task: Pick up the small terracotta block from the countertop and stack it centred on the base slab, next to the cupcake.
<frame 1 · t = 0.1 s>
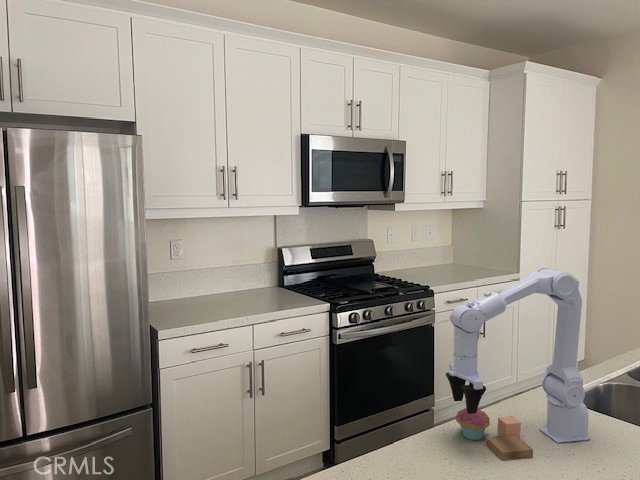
hand: (464, 406, 129), 10 cm above the counter, fingers open, 7 cm apart
block: (508, 438, 133), on the counter
base: (508, 450, 127), on the counter
cupcake: (472, 436, 135), on the counter
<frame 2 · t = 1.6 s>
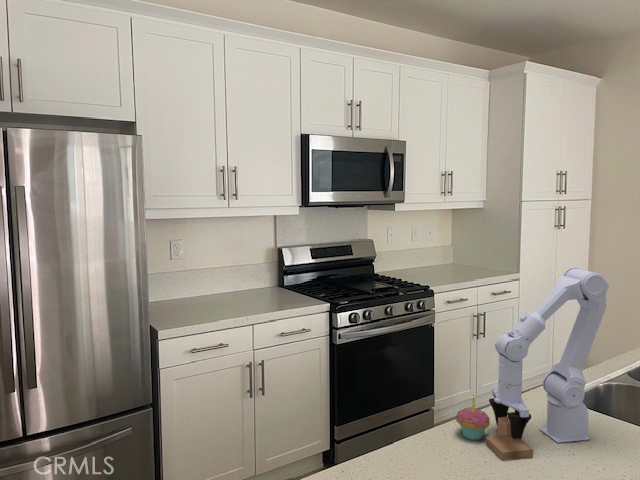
hand: (508, 432, 133), 2 cm above the counter, fingers open, 7 cm apart
nothing on the counter moved.
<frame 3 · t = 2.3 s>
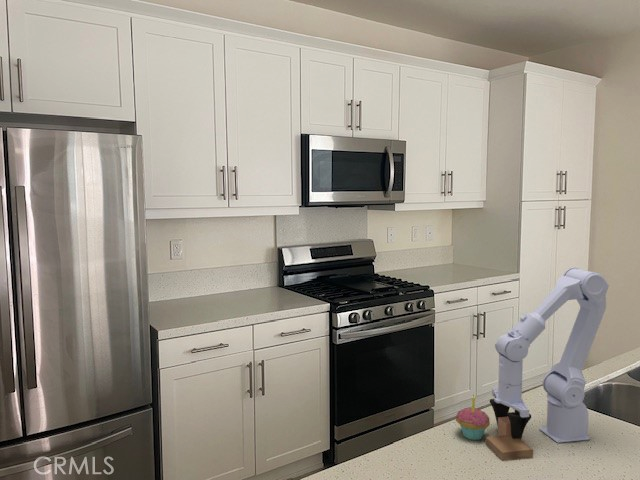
hand: (508, 432, 133), 2 cm above the counter, fingers open, 6 cm apart
nothing on the counter moved.
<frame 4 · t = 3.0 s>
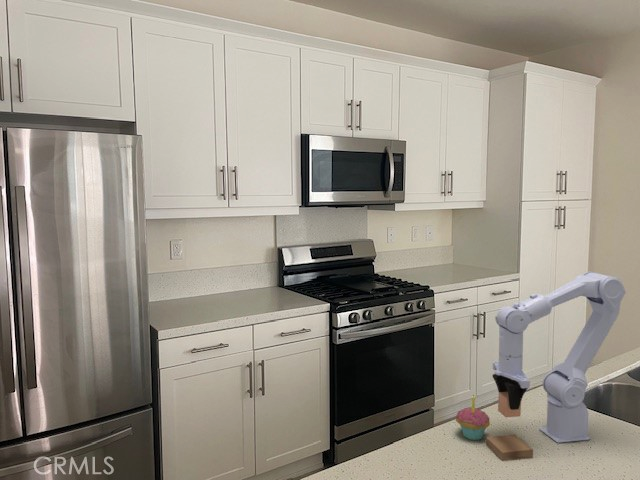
hand: (509, 405, 132), 9 cm above the counter, fingers closed on block, 4 cm apart
block: (509, 413, 133), point 7 cm above the counter, touching gripper
everything else where it was.
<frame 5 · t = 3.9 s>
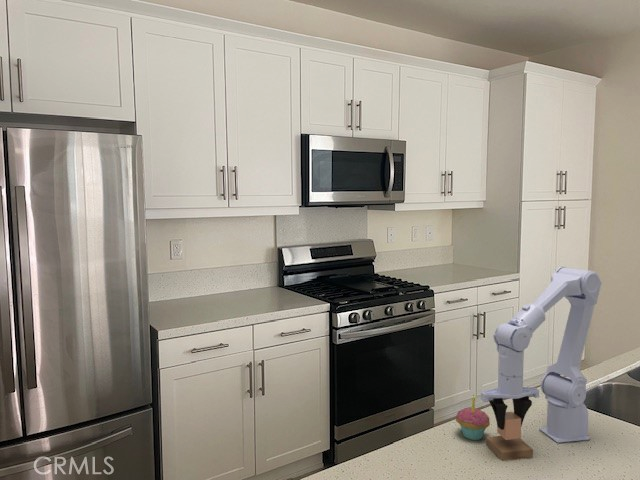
hand: (509, 427, 126), 6 cm above the counter, fingers closed on block, 4 cm apart
block: (509, 435, 126), point 4 cm above the counter, touching gripper
everything else where it was.
when the fingers open (5 cm above the counter, at t = 4.5 s): block stays where it is, resting on base.
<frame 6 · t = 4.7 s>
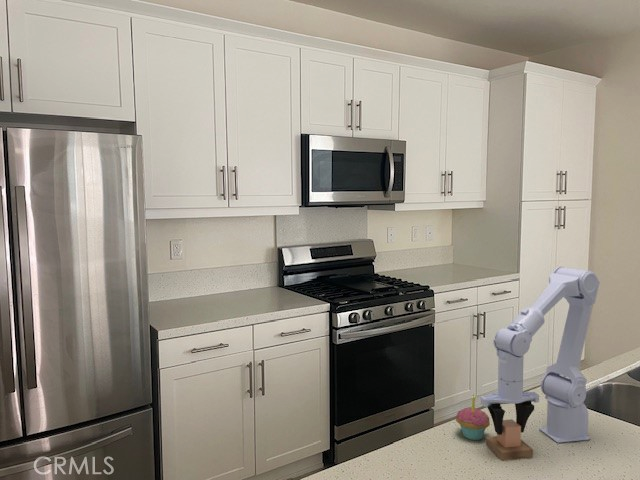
hand: (509, 431, 126), 5 cm above the counter, fingers open, 5 cm apart
block: (508, 442, 126), point 2 cm above the counter, touching base
everything else where it was.
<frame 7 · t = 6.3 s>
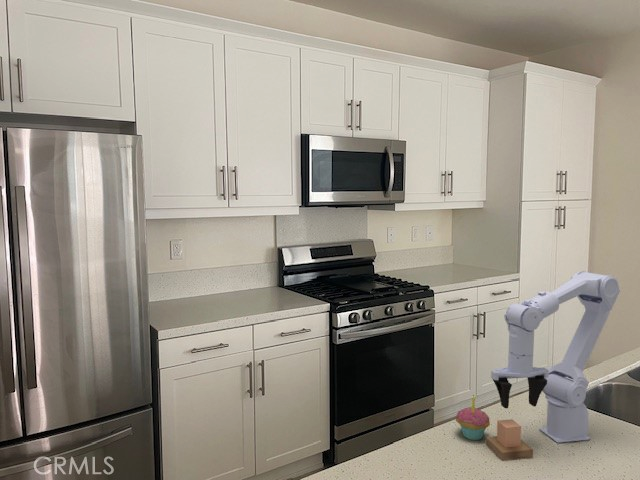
hand: (518, 405, 128), 10 cm above the counter, fingers open, 7 cm apart
nothing on the counter moved.
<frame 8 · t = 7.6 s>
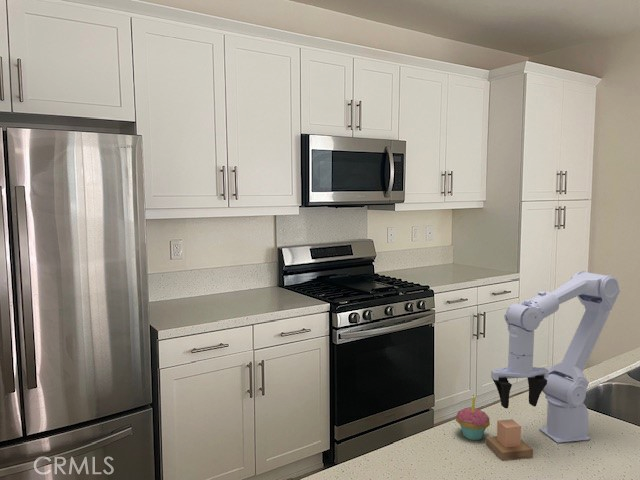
hand: (518, 405, 128), 10 cm above the counter, fingers open, 7 cm apart
nothing on the counter moved.
at the end: block 0.1 cm off-centre on the base, point 2.0 cm above the base's base; block tilted 0°; the gripper is holding nothing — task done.
